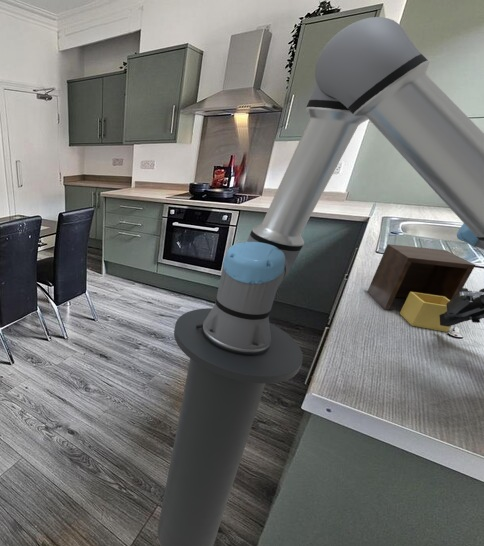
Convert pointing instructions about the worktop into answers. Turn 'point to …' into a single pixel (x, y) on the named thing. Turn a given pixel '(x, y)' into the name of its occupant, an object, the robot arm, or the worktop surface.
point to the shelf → (418, 273)
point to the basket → (425, 310)
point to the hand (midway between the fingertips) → (443, 320)
